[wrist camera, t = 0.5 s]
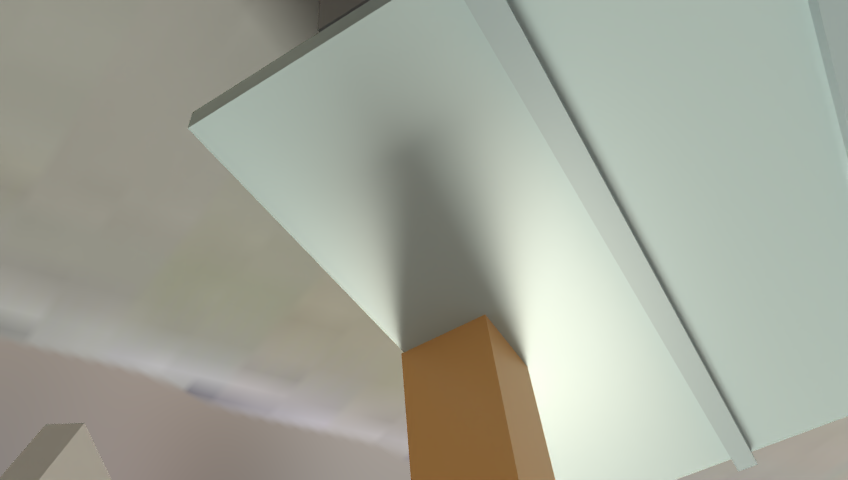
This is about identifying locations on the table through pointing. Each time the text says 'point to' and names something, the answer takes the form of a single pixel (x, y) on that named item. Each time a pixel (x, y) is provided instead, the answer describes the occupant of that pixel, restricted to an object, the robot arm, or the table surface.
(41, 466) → the robot arm
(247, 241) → the table surface
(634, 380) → the lid
